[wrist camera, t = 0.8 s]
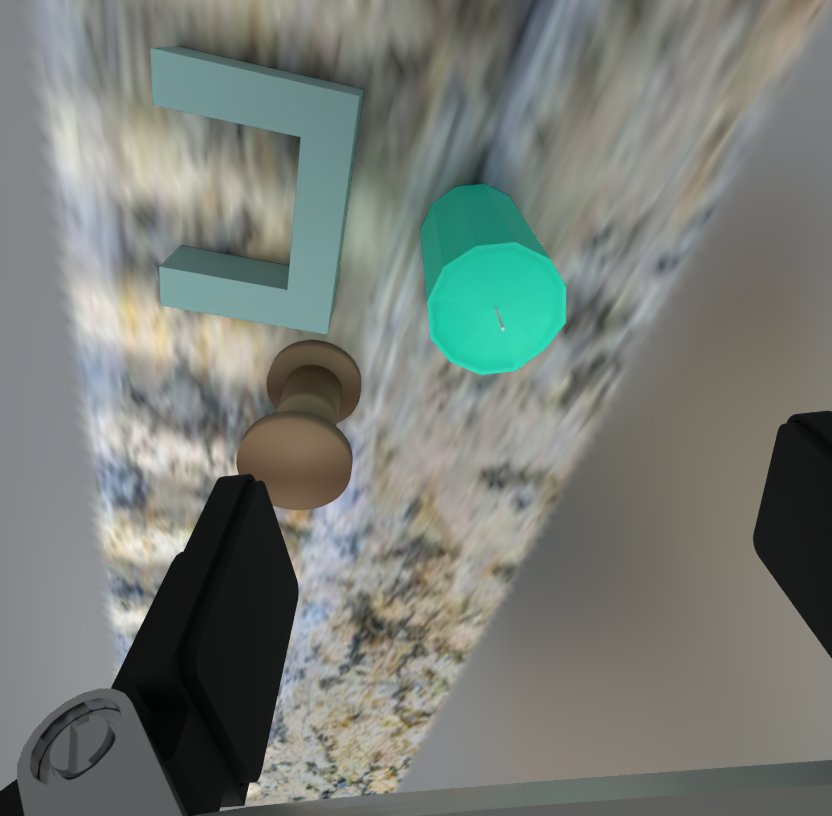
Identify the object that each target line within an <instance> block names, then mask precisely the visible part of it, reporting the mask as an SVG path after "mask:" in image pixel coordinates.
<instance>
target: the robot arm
mask: <svg viewBox="0 0 832 816" xmlns="http://www.w3.org/2000/svg"><path fill="white" fill-rule="evenodd" d="M753 542H754V547H755V550H756V553H757V554H758V556H759V558H760V559H761V560H762V562H763V563H764V565H765V566H766V567H767V569H768V570H769V572H770V573H771V574H772V576H773V577H774V579H775V580H776V581H777V583H778V584H779V586H780V587H781V588H782V590H783V591H784V592H785V594H786V595H787V597H788V598H789V600H790V601H791V602H792V604H793V605H794V607H795V608H796V609H797V611H798V612H799V614H800V615H801V616H802V618H803V619H804V620H805V622H806V623H807V625H808V626H809V627H810V629H811V630H812V632H813V633H814V634H815V636H816V637H817V639H818V640H819V641H820V643H821V644H822V646H823V647H824V648H825V650H826V651H827V653H828V654H829V655H830V657H831V658H832V411H821V412H811V413H802V414H795V415H793V416H791V417H790V418H789V419H788V421H787V423H786V424H782V425H781V426H780V427H779V429H778V433H777V437H776V441H775V445H774V449H773V454H772V458H771V462H770V466H769V471H768V475H767V479H766V484H765V488H764V492H763V496H762V500H761V505H760V509H759V513H758V518H757V522H756V526H755V530H754V535H753ZM297 602H298V582H297V578H296V575H295V572H294V569H293V566H292V563H291V560H290V557H289V554H288V551H287V548H286V545H285V542H284V539H283V536H282V533H281V530H280V527H279V524H278V521H277V518H276V515H275V512H274V509H273V506H272V503H271V500H270V497H269V494H268V491H267V488H266V485H265V483H264V482H263V481H262V480H259V481H256V480H255V478H254V477H253V475H251V474H243V475H233V476H224V477H220V478H219V479H218V480H217V482H216V484H215V486H214V488H213V490H212V492H211V494H210V496H209V498H208V501H207V503H206V505H205V507H204V509H203V511H202V513H201V515H200V518H199V520H198V522H197V524H196V526H195V528H194V530H193V532H192V535H191V537H190V539H189V541H188V543H187V545H186V547H185V549H184V552H181V553H179V554H178V555H176V557H175V558H174V560H173V562H172V563H171V565H170V567H169V569H168V572H167V574H166V576H165V578H164V580H163V582H162V584H161V586H160V588H159V590H158V592H157V594H156V596H155V598H154V600H153V603H152V605H151V607H150V609H149V611H148V613H147V615H146V617H145V619H144V621H143V623H142V625H141V627H140V629H139V631H138V633H137V636H136V638H135V640H134V642H133V644H132V646H131V648H130V650H129V652H128V654H127V656H126V658H125V660H124V662H123V664H122V667H121V669H120V671H119V673H118V675H117V677H116V679H115V681H114V683H113V685H112V687H111V689H96V690H93V691H89V692H85V693H82V694H80V695H78V696H76V697H74V698H72V699H71V700H69V701H67V702H65V703H64V704H62V705H61V706H60V707H58V708H57V709H56V710H54V711H53V712H52V713H50V714H49V715H48V716H47V717H46V718H45V719H44V720H43V721H42V723H41V724H40V725H39V726H38V727H37V728H36V729H35V730H34V732H33V733H32V735H31V736H30V738H29V739H28V741H27V742H26V744H25V745H24V747H23V750H22V752H21V755H20V758H19V761H18V763H17V779H16V780H15V781H13V782H12V783H11V784H9V785H8V786H7V787H5V788H4V789H3V790H1V791H0V816H832V760H826V761H812V762H798V763H783V764H768V765H755V766H754V765H753V766H741V767H740V766H739V767H726V768H713V769H699V770H685V771H672V772H658V773H645V774H632V775H619V776H606V777H592V778H580V779H566V780H553V781H540V782H526V783H515V784H501V785H490V786H477V787H465V788H453V789H440V790H427V791H415V792H403V793H390V794H378V795H365V796H354V797H343V798H333V799H323V800H313V801H303V802H293V803H283V804H273V805H263V806H253V807H246V808H239V809H233V810H227V811H220V812H219V810H220V807H233V806H244V805H245V800H246V796H247V791H248V787H249V783H252V782H257V781H258V779H259V777H260V775H261V771H262V767H263V762H264V757H265V753H266V748H267V743H268V739H269V734H270V729H271V724H272V720H273V715H274V710H275V706H276V701H277V696H278V691H279V687H280V682H281V677H282V673H283V668H284V663H285V658H286V654H287V649H288V644H289V640H290V635H291V630H292V625H293V621H294V616H295V611H296V607H297Z"/></svg>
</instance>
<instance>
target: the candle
mask: <svg viewBox="0 0 832 816" xmlns="http://www.w3.org/2000/svg"><path fill="white" fill-rule="evenodd" d="M420 230H421V241H422V252H423V263H424V274H425V285H426V296H427V307H428V318H429V329H430V338H431V339H432V341H433V342H434V343H435V344H436V345H437V347H438V348H439V349H440V350H441V351H442V353H443V354H444V355H445V356H446V358H447V359H448V360H449V361H450V362H451V363H454V364H456V365H459V366H461V367H463V368H466V369H468V370H471V371H473V372H475V373H478V374H480V375H486V374H494V373H502V372H511V371H516V370H518V369H519V368H520V367H522V366H523V365H524V364H526V363H527V362H528V361H530V360H531V359H532V358H534V357H535V356H536V355H538V354H539V353H540V352H542V351H543V350H544V349H545V348H546V347H547V346H548V345H549V343H550V342H551V341H552V340H553V338H554V337H555V336H556V335H557V333H558V332H559V331H560V330H561V328H562V327H563V326H564V325H565V323H566V285H565V283H564V282H563V280H562V278H561V277H560V275H559V273H558V272H557V270H556V268H555V266H554V265H553V263H552V261H551V260H550V258H549V257H548V255H547V253H546V252H545V250H544V249H543V247H542V246H541V244H540V243H539V241H538V240H537V238H536V237H535V235H534V234H533V232H532V230H531V229H530V227H529V226H528V224H527V223H526V221H525V220H524V218H523V217H522V215H521V214H520V212H519V211H518V209H517V207H516V206H515V204H514V203H513V201H512V200H511V198H510V197H509V196H508V195H506V194H504V193H502V192H500V191H498V190H496V189H494V188H492V187H490V186H488V185H486V184H476V185H466V186H456V187H454V188H453V189H452V190H450V191H449V192H448V193H446V194H445V195H443V196H442V197H441V198H439V199H438V200H437V201H435V202H434V203H433V204H432V205H431V207H430V210H429V212H428V214H427V216H426V218H425V221H424V223H423V225H422V227H421V229H420Z"/></svg>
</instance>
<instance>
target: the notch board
mask: <svg viewBox="0 0 832 816" xmlns="http://www.w3.org/2000/svg"><path fill="white" fill-rule="evenodd" d="M150 50H151V74H152V99H153V105H155V106H160V107H164V108H169V109H174V110H178V111H183V112H187V113H192V114H197V115H201V116H206V117H210V118H215V119H220V120H224V121H229V122H233V123H238V124H242V125H247V126H252V127H256V128H261V129H265V130H270V131H275V132H279V133H284V134H288V135H293V136H297V137H301V141H300V153H299V164H298V175H297V187H296V198H295V209H294V221H293V232H292V244H291V255H290V266H287V265H282V264H276V263H271V262H266V261H261V260H255V259H250V258H245V257H239V256H234V255H229V254H223V253H218V252H213V251H208V250H202V249H197V248H192V247H186V246H180V247H179V248H178V249H177V250H176V251H175V252H174V253H173V254H172V255H171V256H170V257H169V258H168V259H167V260H166V261H165V262H164V263H163V264H161V265H160V266H159V271H160V296H161V306H167V307H173V308H179V309H184V310H190V311H196V312H201V313H207V314H213V315H219V316H224V317H230V318H236V319H242V320H247V321H253V322H259V323H264V324H270V325H276V326H282V327H287V328H293V329H299V330H304V331H310V332H316V333H322V334H328V330H329V326H330V322H331V318H332V314H333V310H334V303H335V296H336V288H337V281H338V274H339V267H340V259H341V252H342V245H343V237H344V230H345V223H346V216H347V208H348V201H349V194H350V186H351V179H352V172H353V164H354V157H355V150H356V143H357V135H358V128H359V121H360V113H361V106H362V99H363V92H364V90H363V89H359V88H355V87H351V86H346V85H342V84H338V83H333V82H329V81H325V80H320V79H316V78H312V77H307V76H303V75H299V74H295V73H290V72H286V71H282V70H277V69H273V68H269V67H264V66H260V65H256V64H251V63H247V62H243V61H238V60H234V59H230V58H226V57H221V56H217V55H213V54H208V53H204V52H200V51H195V50H191V49H187V48H182V47H178V46H175V47H159V48H150Z"/></svg>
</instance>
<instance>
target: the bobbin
mask: <svg viewBox="0 0 832 816" xmlns="http://www.w3.org/2000/svg"><path fill="white" fill-rule="evenodd" d="M267 391H268V395H269V397H270V400H271V402H272V403H273V405H274V406H275V408H276V409H277V411H276V412H275V413H272V414H269V415H267V416H264V417H262V418H261V419H259V420H257V421H256V422H255V423H254V424H252V425H251V427H250V428H249V429H248V430H247V432H246V433H245V435H244V437H243V440H242V442H241V445H240V448H239V450H238V453H237V462H236V464H237V470H238V473H239V475H243V474H251V475H253V477H254V478H255V480H256V481H259V480H262V481H263V482H264V483H265V485H266V488H267V491H268V494H269V497H270V500H271V503H272V505H274V506H277V507H280V508H284V509H291V510H309V509H315V508H318V507H322V506H324V505H327V504H329V503H330V502H332V501H334V500H335V499H337V498H338V497H339V496H340V495H341V494H342V493H343V492H344V490H345V489H346V487H347V485H348V483H349V481H350V477H351V470H352V461H353V456H352V450H351V447H350V444H349V442H348V440H347V438H346V437H345V436H344V434H343V433H342V432H341V431H340V430H339V429H338V428H337V427H336V424H337V423H339V422H341V421H343V420H344V419H346V418H347V417H348V416H349V415H350V414H351V413H352V412H353V411H354V409H355V408H356V406H357V404H358V402H359V399H360V392H361V375H360V372H359V369H358V367H357V365H356V363H355V362H354V360H353V359H352V358H351V357H350V356H349V355H348V354H347V353H346V352H345V351H343V350H342V349H340V348H338V347H337V346H335V345H332V344H330V343H326V342H322V341H314V340H309V341H301V342H297V343H294V344H292V345H290V346H288V347H286V348H285V349H283V350H282V351H281V352H280V353H279V354H278V355H277V356H276V358H275V359H274V361H273V363H272V366H271V368H270V371H269V373H268V377H267Z"/></svg>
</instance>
